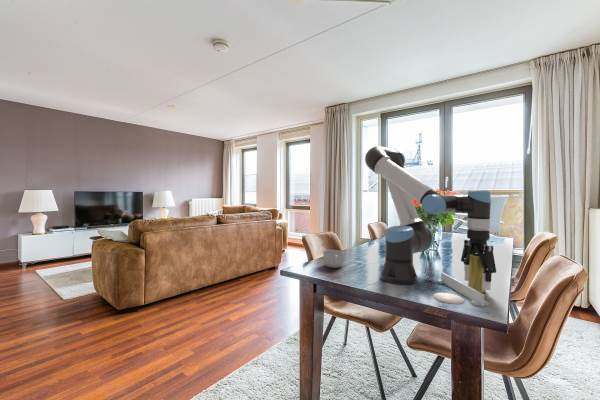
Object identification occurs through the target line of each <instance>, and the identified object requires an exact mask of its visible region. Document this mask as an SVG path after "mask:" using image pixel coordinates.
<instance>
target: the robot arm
mask: <svg viewBox="0 0 600 400" xmlns="http://www.w3.org/2000/svg"><path fill="white" fill-rule="evenodd" d="M364 162H365V165H366V166H367V167H368V169H370V170H371V171H372V172H374V173H375V174H377V175H380V176H381V178H383V179H385V182H386V183H387V187H388V190H389V193H390V195H391V199H392V202H393V204H394V205H393V206H394V207H395V210H396V214H397V217H398V218H399V222H400V224H399V225H393V226H390V227H388V228H386V231H385V236H384V239H385V242H384V244H385V245H384V247H385V248H384V249H385V253H384V257H385V258H384V263H383V266H382V269H381V272H380V279H381V280H383V281H385V282H387V283H391V284H394V285H403V286H404V285H405V286H409V285H414V284H416V283H417V282H418V276H417V271H416V269H415V266H414V254H417V253H424V252H425V251H427V250H429V249H430V248H431V247H432V246H433V244H434V242H435V236H434V233H433V231H432V230H431V228H429V227H428V226H426V224H425V221H424V219H421V218H419V215H418V212H417V210H416V206H415V204H414V201H413V200H415V201H416V202H417V203H419V204H420V205H421V207H422V209H423V211H424V212H425V213H427V214H429V215H440V214H441V215H442V214H452V213H455V214H466V215H467V217H466V218H467V219H466V220H467V222H466V223H467V224H466V227H467V229H466V238H467V239H463V249H462V253H461V257H460V258H461V259H460V262H463V265H464V268H463V269H464V271H463V272H464V276H463V277H464V279H463V280H464V281H466V282H467V281H469V261H470V254H477V255H478V256H479V257H480V260H481V263H482V266H483V269H484V272H482V290H486V291H488V290H489V291H491V284H492V283H491V282H492V274H496V273H497V268H496V262H495V256H494V255H495V254H494V246H493V245H489V244H488V242H487V241H489V240H490V235H491V234H490V232H491V230H490V229H491V228H490V227H491V226H490V225H491V221H490V219H491V202H492V201H491V192H490V191H489V190H485V189H480V190H475V189H469V190H468V192H467V194H441V193H439V192H437V191H436V190H434V189H433V188H432V187H430V186H429V185H427V184H426V183H424V182H423V181H421V180H420V179H418V178H416V177H415V176H414V175H413V174H411V173H410V172H409V171H406V170H405V168H404V166H405V163H406V157H405V154H404V152H403V153H402V151H401V150H399V149H397V148H392V147H385V146H377V145H376V146H374V147H371V148H370V149H369V150H368V151H367V152H366V154H365V157H364Z"/></svg>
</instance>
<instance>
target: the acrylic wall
mask: <svg viewBox="0 0 600 400" xmlns="http://www.w3.org/2000/svg"><path fill="white" fill-rule="evenodd" d="M436 283H438V284H444V285H446V286H447V287H449V288H450V289H452V290H454V291H456V292H457V293H460V294H461V295H462V296H464V297H466V298H467V299H469V300H470V304H471V305H473V306H477V307H478V306H481V307H485V306H486V307H489V306H490V303H489V302H488V301H487V300H485V294H484V293H480V292H478V291H476V290H475V289H473V288H471V287H469V286H468V284H465V283H463V282H462V281H460V280H458V279H456V278H454V277H452V276H450V275H448V274H447V273H445V272H441V273H440V279H436Z"/></svg>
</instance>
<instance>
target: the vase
mask: <svg viewBox="0 0 600 400" xmlns="http://www.w3.org/2000/svg"><path fill="white" fill-rule="evenodd" d="M482 272H484V269H483V266H482V263H481V260H480V257H479V256H478V255H477V253H476V254H470V261H469V281H468V283H467V286H469V287H471V288H473V289H475V290H476V291H478V292H480V293H482V294H484V293H486V292H487V290H482Z"/></svg>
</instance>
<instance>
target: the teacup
mask: <svg viewBox="0 0 600 400" xmlns="http://www.w3.org/2000/svg"><path fill="white" fill-rule="evenodd" d="M344 259H345V252H344V251H342V250H337V249H324V250H323V264H324V265H325V266H326V267H328V268H333V269H334V268H335V269H336V268H340V267H341V266H343V264H344Z"/></svg>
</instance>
